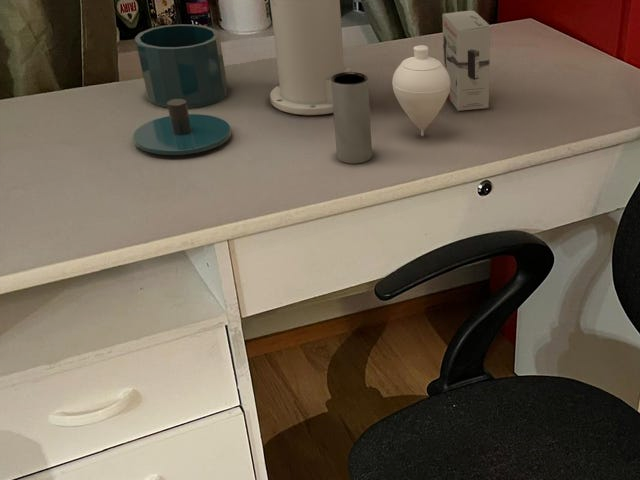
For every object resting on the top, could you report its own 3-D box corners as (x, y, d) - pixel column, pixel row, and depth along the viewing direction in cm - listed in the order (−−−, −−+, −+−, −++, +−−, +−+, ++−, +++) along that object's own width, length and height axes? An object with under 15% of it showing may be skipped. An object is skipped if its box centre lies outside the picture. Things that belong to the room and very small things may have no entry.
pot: (242, 88, 131) (234, 30, 126) (196, 113, 122) (185, 53, 117) (180, 77, 134) (170, 20, 129) (131, 100, 126) (117, 41, 120)
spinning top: (427, 120, 122) (425, 34, 115) (461, 137, 118) (462, 48, 111) (383, 133, 118) (379, 44, 111) (417, 152, 114) (415, 60, 106)
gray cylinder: (376, 151, 113) (372, 73, 107) (366, 165, 110) (361, 85, 104) (343, 147, 114) (337, 70, 108) (332, 161, 111) (325, 82, 104)
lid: (250, 131, 118) (245, 94, 115) (193, 166, 108) (186, 126, 105) (175, 116, 121) (168, 79, 118) (114, 149, 112) (104, 110, 109)
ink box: (441, 91, 132) (441, 11, 125) (472, 89, 133) (474, 9, 126) (457, 111, 125) (458, 28, 118) (489, 109, 127) (492, 26, 119)
